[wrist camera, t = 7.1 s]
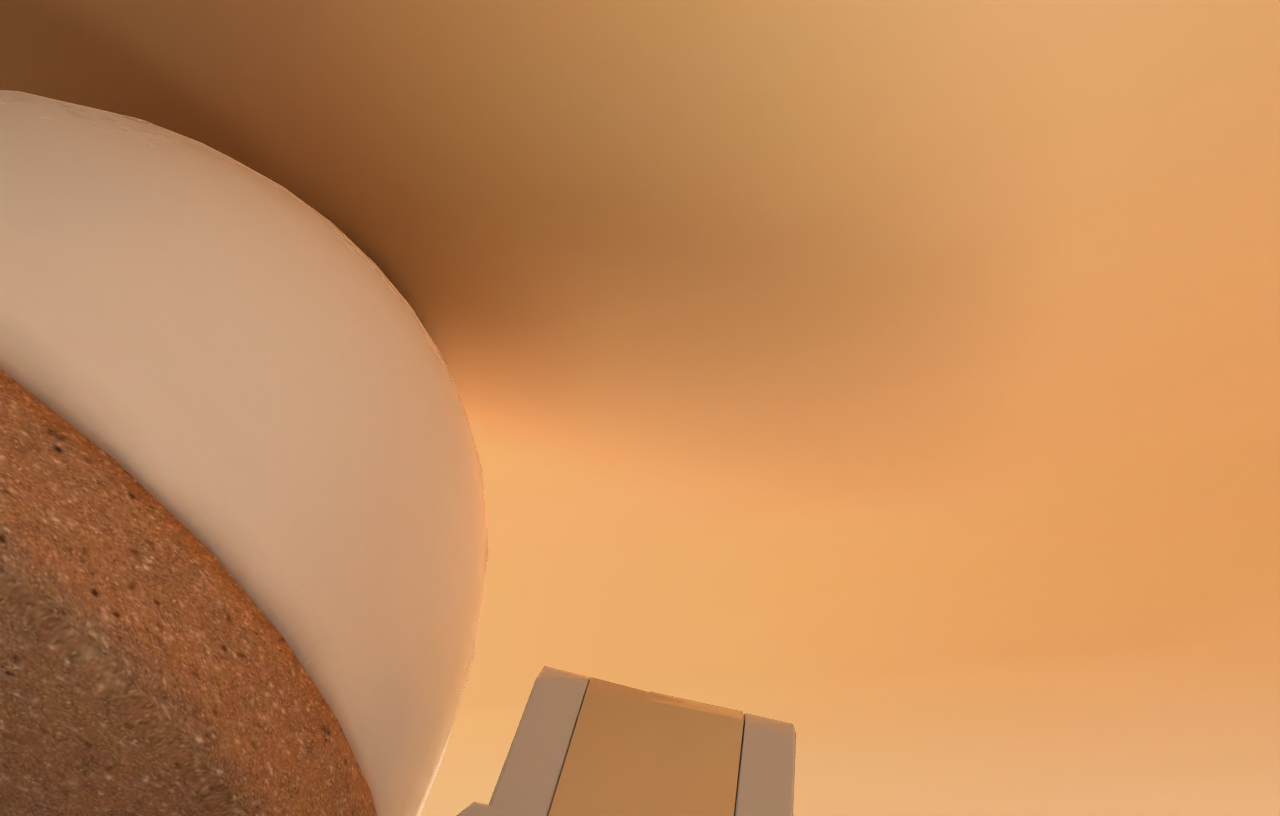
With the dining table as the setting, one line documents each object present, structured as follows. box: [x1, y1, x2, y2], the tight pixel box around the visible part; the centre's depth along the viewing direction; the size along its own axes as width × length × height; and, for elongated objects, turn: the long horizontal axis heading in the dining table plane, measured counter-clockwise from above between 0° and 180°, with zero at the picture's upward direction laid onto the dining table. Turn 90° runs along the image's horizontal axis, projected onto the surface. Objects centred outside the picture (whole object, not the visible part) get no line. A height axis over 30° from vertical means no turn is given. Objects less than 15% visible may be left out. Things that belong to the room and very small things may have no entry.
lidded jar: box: [0, 90, 488, 816], centre depth 10 cm, size 11×11×9 cm
